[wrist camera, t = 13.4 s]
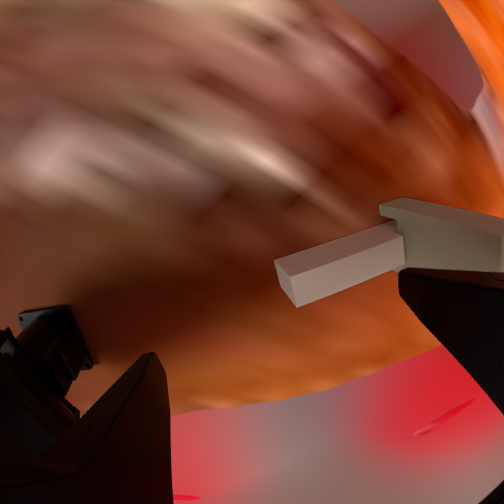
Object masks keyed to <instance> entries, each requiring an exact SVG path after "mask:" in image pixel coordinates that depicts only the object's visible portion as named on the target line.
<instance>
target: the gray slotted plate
mask: <svg viewBox="0 0 504 504" xmlns="http://www.w3.org/2000/svg"><path fill="white" fill-rule="evenodd" d="M379 211H380V216H384V217H388V218H391V219H395V220H397V229H398V234H399V235H402V236H403V242H404V257H405V264H403V265H401V266H399V267H397V268H394V269H392V270H394V271H396V272H398V273H399V271H400V270H402V269H404V268H407V267H414V268H432V269H449V270H467V271H485V272H504V219H502V218H498V217H494V216H490V215H486V214H482V213H478V212H474V211H469V210H465V209H460V208H456V207H451V206H446V205H441V204H436V203H431V202H426V201H420V200H415V199H409V198H403V197H402V198H399V199H395V200H392V201H389V202H386V203H382V204H379Z"/></svg>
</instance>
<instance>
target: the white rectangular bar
mask: <svg viewBox="0 0 504 504" xmlns="http://www.w3.org/2000/svg"><path fill="white" fill-rule="evenodd" d="M274 263H275V267H276V271H277V274H278V279H279V283H280V287H281V288H282V289H283V291H284V292H285V293H286V294H287V296H288V297H289V298H290V300H291V301H292V302H293V303H294V305H295V306H296V307H300V306H303V305H305V304H308V303H311V302H313V301H316V300H319V299H321V298H324V297H327V296H329V295H332V294H334V293H337V292H339V291H342V290H344V289H347V288H349V287H352V286H354V285H357V284H359V283H362V282H364V281H366V280H369V279H371V278H373V277H376V276H378V275H380V274H383V273H385V272H387V271H390V270H392V269H394V268H397V267H399V266H401V265H403V264H405V257H404V242H403V236H402V235H399V234H398V229H397V220H392V221H389V222H386V223H383V224H380V225H377V226H374V227H371V228H368V229H365V230H362V231H360V232H357V233H354V234H351V235H348V236H345V237H342V238H339V239H336V240H333V241H330V242H327V243H324V244H321V245H318V246H315V247H312V248H309V249H306V250H303V251H300V252H297V253H294V254H291V255H288V256H285V257H281V258H278V259H275V260H274Z"/></svg>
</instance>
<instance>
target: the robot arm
mask: <svg viewBox="0 0 504 504" xmlns="http://www.w3.org/2000/svg"><path fill="white" fill-rule="evenodd" d="M398 288H399V294H400V296H401V298H402V299H403V300H404V301H405V303H406V304H407V305H408V306H409V307H410V309H411V310H412V311H413V312H414V314H415V315H416V316H417V318H418V319H419V320H420V321H421V322H422V323H423V325H424V326H425V327H426V328H427V329H428V330H429V331H430V332H431V333H432V334H433V335H434V336H435V337H436V338H437V339H438V340H439V341H440V342H441V343H442V344H443V345H444V347H445V348H446V349H448V351H449V352H450V353H451V354H452V355H453V356H454V357H455V358H456V359H457V361H458V362H459V363H460V364H461V365H462V366H463V367H464V368H465V370H466V371H467V372H468V373H469V374H470V375H471V376H472V377H473V379H474V380H475V381H476V382H477V383H478V384H479V385H480V387H481V388H482V389H483V390H484V391H485V393H486V394H488V396H489V398H490V399H491V400H492V401H493V403H494V404H495V405H496V406H497V407H498V409H499V410H500V411H501V412H502V414H503V415H504V272H485V271H467V270H449V269H432V268H414V267H407V268H404V269H402V270H400V271H399V273H398ZM64 310H65V311H66V312H67V313H65V312H64ZM17 318H18V321H19V323H20V325H21V328H22V330H23V331H22V332H21V333H20V334H19V335H18V336H17V338H16V339H15V337H14V336H13V334H12V331H11V330H10V328H9V327H7V328H6V329H5V330H2V329H1V330H0V504H173V490H172V472H171V442H170V441H171V439H170V435H171V432H170V405H169V396H168V387H167V377H166V372H165V370H164V368H163V366H162V364H161V362H160V360H159V359H158V357H157V355H156V354H155V353H154V352H149V353H145V354H143V355H141V356H140V358H139V359H138V360H137V361H136V362H135V363H134V364H133V365H132V366H131V367H130V368H129V369H128V370H127V371H126V372H125V373H124V374H123V375H122V376H121V377H120V378H119V379H118V380H117V381H116V382H115V383H114V384H113V385H112V386H111V387H110V388H109V389H108V390H107V391H106V392H105V393H104V394H103V395H102V396H101V397H100V398H99V400H98V401H97V402H96V403H95V404H94V405H93V406H92V407H91V408H90V409H89V410H88V411H87V412H86V414H84V415H83V416H82V417H81V418H80V411H79V410H78V409H77V408H76V407H74V406H73V405H72V404H71V403H70V402H69V401H68V400H67V399H66V398H65V397H64V396H66V395H67V393H68V390H69V388H70V386H71V384H72V382H73V381H75V380H76V379H77V376H78V374H79V372H80V370H90V369H92V368H93V365H94V364H93V361H92V359H91V357H90V355H89V351H88V349H87V346H86V344H85V342H84V340H83V337H82V335H81V333H80V330H79V329H78V328H77V325H76V323H75V320H74V318H73V315H72V313H71V310H70V308H69V307H68V306H58V307H52V308H46V309H39V310H33V311H26V312H21V313H19V314H18V317H17ZM22 318H23V319H22ZM87 363H88V364H89V365H88V364H87ZM479 504H504V480H503V481H502V482H501V483H500V484H499V485H498V486H497V487H496V488H495V489H494V490H493V491H492V492H491V493H489V495H487V496H486V497H485V498H484V499H483V500H482V501H481V502H479Z"/></svg>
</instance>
